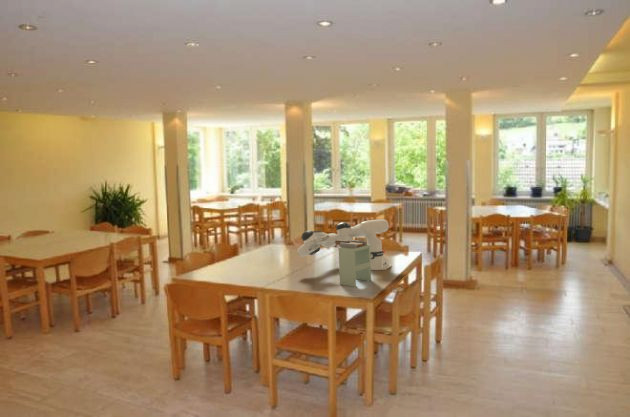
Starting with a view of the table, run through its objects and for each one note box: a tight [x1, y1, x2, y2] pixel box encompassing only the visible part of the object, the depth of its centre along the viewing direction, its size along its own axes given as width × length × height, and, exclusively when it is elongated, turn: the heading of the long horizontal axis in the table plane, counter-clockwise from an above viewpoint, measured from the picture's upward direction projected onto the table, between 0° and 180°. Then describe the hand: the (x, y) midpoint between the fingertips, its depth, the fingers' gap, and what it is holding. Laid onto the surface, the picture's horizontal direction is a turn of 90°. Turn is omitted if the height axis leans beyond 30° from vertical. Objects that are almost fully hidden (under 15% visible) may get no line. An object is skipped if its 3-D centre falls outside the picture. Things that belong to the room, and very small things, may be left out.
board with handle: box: [335, 240, 364, 247], centre depth 362 cm, size 10×20×3 cm, turn 49°
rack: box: [337, 237, 372, 287], centre depth 361 cm, size 20×13×31 cm, turn 139°
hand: (324, 237), depth 376 cm, fingers open, 8 cm apart
